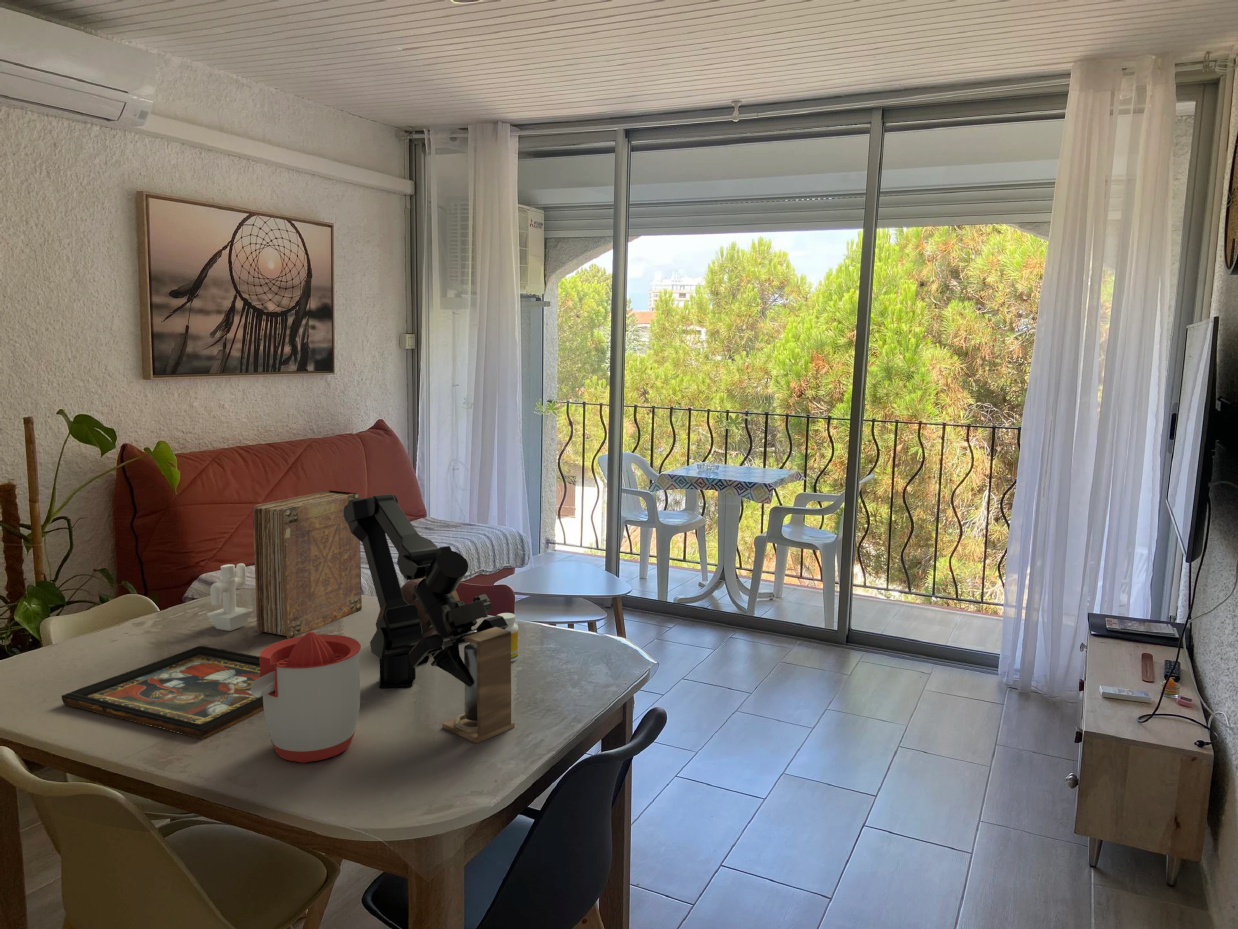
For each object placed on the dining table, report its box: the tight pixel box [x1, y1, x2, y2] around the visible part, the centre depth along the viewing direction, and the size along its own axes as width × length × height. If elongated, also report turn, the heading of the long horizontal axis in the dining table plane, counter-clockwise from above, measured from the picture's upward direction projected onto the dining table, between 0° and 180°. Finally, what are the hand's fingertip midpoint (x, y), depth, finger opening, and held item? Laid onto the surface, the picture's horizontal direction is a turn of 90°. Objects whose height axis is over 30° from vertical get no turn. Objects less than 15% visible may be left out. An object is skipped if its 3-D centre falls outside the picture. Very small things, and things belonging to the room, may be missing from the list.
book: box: [252, 490, 363, 639], centre depth 208 cm, size 25×9×30 cm, turn 157°
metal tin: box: [463, 643, 477, 721], centre depth 152 cm, size 4×4×12 cm
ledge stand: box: [441, 627, 516, 744], centre depth 152 cm, size 9×9×18 cm
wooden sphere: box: [400, 577, 461, 638], centre depth 197 cm, size 15×15×15 cm
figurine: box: [205, 562, 254, 632], centre depth 204 cm, size 7×9×15 cm
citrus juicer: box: [251, 630, 362, 764], centre depth 143 cm, size 16×17×20 cm
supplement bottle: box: [497, 612, 519, 663], centre depth 186 cm, size 5×5×10 cm
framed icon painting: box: [61, 645, 264, 740], centre depth 167 cm, size 38×35×3 cm
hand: (482, 681), depth 151 cm, fingers closed on metal tin, 4 cm apart
